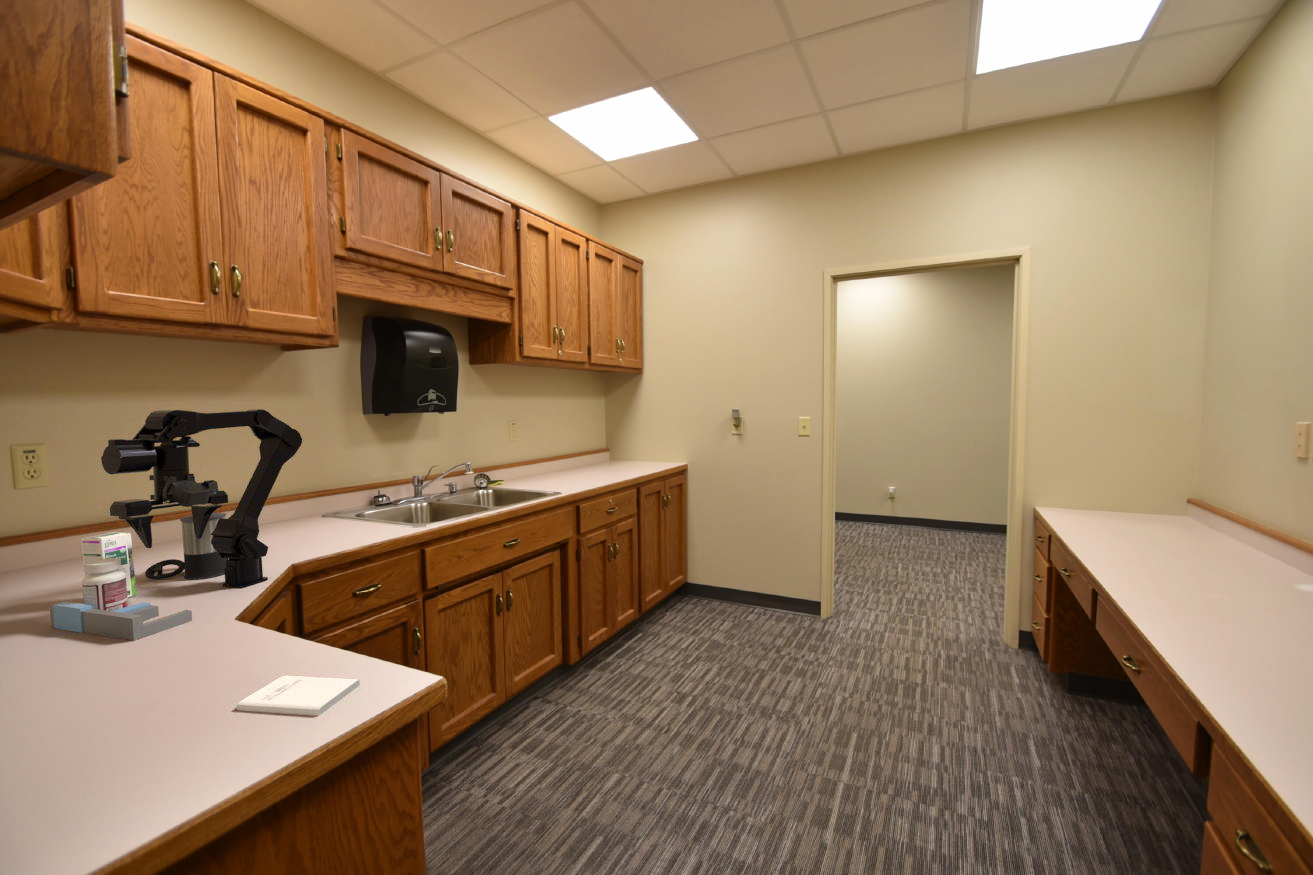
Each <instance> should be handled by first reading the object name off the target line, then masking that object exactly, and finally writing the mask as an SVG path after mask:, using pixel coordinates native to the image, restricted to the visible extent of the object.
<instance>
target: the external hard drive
mask: <svg viewBox="0 0 1313 875" xmlns="http://www.w3.org/2000/svg"><path fill="white" fill-rule="evenodd" d="M360 685H361V681H360V679H355V678H353V679H352V678H339V677H338V678H335V677H316V676H299V675H297V676H296V675H282V676H280V677H279V678H277V679H274V680H273V681H272V682H270V683H269V684H267V685H265V686H263V687H262V688H260V689H258V690H257V691H255V692H254V693H251V694H250V695H248V696H247V697H244V698H242V700H240V701H239V702H238V703H237V704H236V710H237V711H243V712H244V711H245V712H255V713H257V712H258V713H270V714H285V715H287V714H288V715H299V716H314V717H319V716H321V715H323V713H325V712H326V711H328V710H329V709H330V708H332V707H333V706H334V705H336V704H337V703H338V702H340V701H341V700H342V699H344V698H345V697H347V696H348V695H350V693H352V692H353V691H354V690H356V689H357V688H359V687H360Z"/></svg>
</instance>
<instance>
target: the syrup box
mask: <svg viewBox="0 0 1313 875" xmlns="http://www.w3.org/2000/svg"><path fill="white" fill-rule="evenodd" d="M80 543H81V552H82V563H83V565H84V564H85V563H87V562H91V561H95V560H100V559H107V558H120V559H121V568H120V569H118V570H121V571H123V572H124V573H125V574H126V586H127V598H128V599H129V598H132V597H136V595H137V586H136V584H137V583H136V575H135V574H136V573H135V567H134V566H135V565H134V562H135V561H134V553H133V542H132V533H131V532H130V531H110V532H107V533H101V534H95V535H92V536H86V537H82V538H80ZM88 575H89V574H85V573H84V578H85V577H86V576H88Z"/></svg>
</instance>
